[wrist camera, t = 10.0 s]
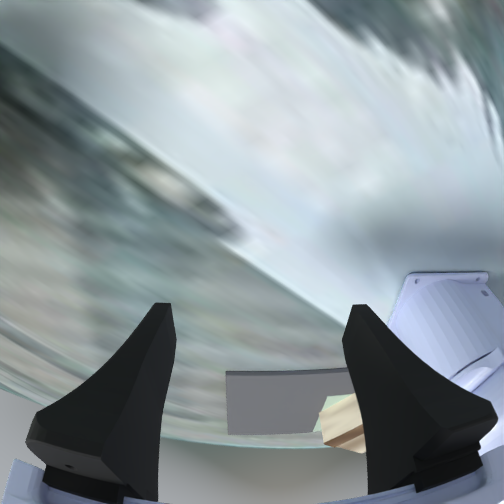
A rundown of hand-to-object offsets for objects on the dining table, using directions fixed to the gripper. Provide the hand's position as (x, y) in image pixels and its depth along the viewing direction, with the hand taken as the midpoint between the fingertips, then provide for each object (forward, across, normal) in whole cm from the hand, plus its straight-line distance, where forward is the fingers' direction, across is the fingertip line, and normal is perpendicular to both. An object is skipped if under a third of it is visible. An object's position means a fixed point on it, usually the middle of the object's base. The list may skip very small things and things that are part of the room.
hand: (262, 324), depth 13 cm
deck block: (+9, -13, +24) cm, 29 cm away
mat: (+9, -8, +22) cm, 25 cm away
